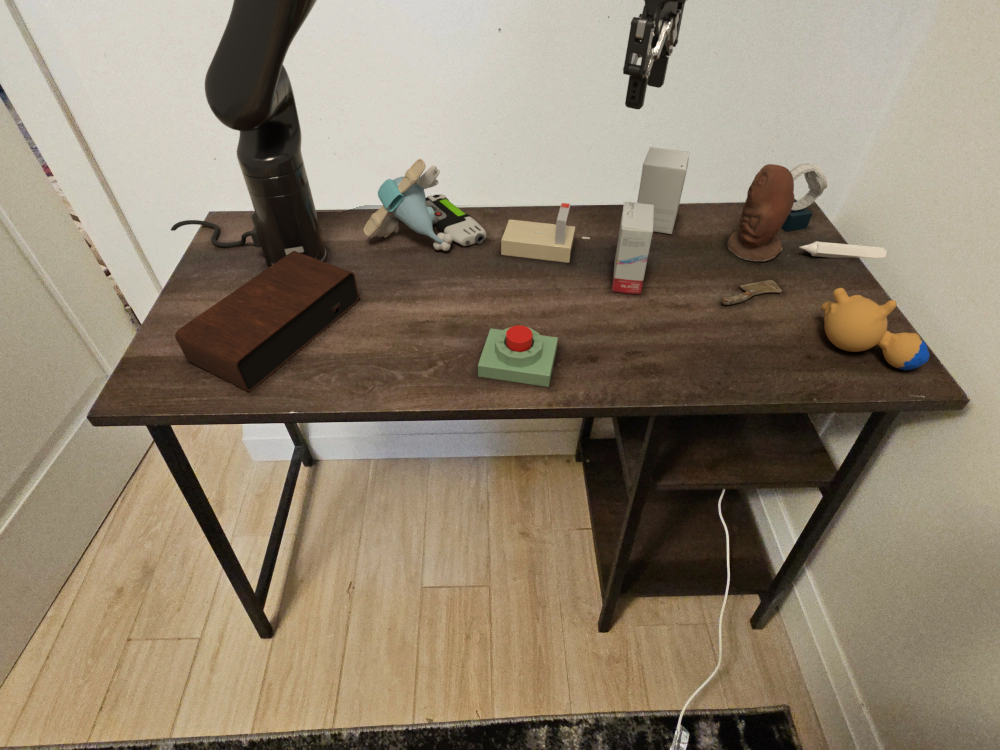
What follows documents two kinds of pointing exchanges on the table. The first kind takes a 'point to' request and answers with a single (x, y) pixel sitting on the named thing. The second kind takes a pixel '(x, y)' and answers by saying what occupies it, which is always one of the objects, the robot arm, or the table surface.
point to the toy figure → (408, 205)
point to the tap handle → (562, 223)
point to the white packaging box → (663, 185)
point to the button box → (518, 359)
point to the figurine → (764, 214)
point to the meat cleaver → (752, 291)
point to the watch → (816, 184)
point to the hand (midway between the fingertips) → (644, 96)
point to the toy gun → (455, 221)
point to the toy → (871, 330)
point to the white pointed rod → (844, 250)
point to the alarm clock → (268, 319)
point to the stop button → (519, 338)
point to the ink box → (633, 247)
